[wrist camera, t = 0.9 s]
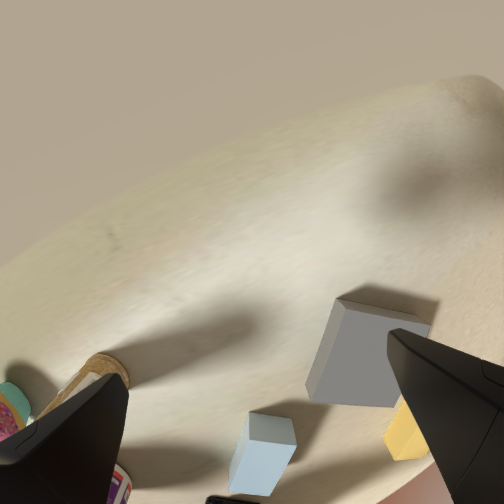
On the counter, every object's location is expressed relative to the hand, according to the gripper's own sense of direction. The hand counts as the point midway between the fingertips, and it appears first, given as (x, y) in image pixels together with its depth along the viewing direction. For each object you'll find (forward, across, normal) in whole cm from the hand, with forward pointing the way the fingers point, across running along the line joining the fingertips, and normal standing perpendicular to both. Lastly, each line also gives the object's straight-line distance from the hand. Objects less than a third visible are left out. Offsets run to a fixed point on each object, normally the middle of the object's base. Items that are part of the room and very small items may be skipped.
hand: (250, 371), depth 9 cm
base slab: (+13, -8, +10) cm, 18 cm away
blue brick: (+11, +3, +19) cm, 22 cm away
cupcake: (+11, +31, +12) cm, 35 cm away
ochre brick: (+12, -13, +20) cm, 27 cm away
